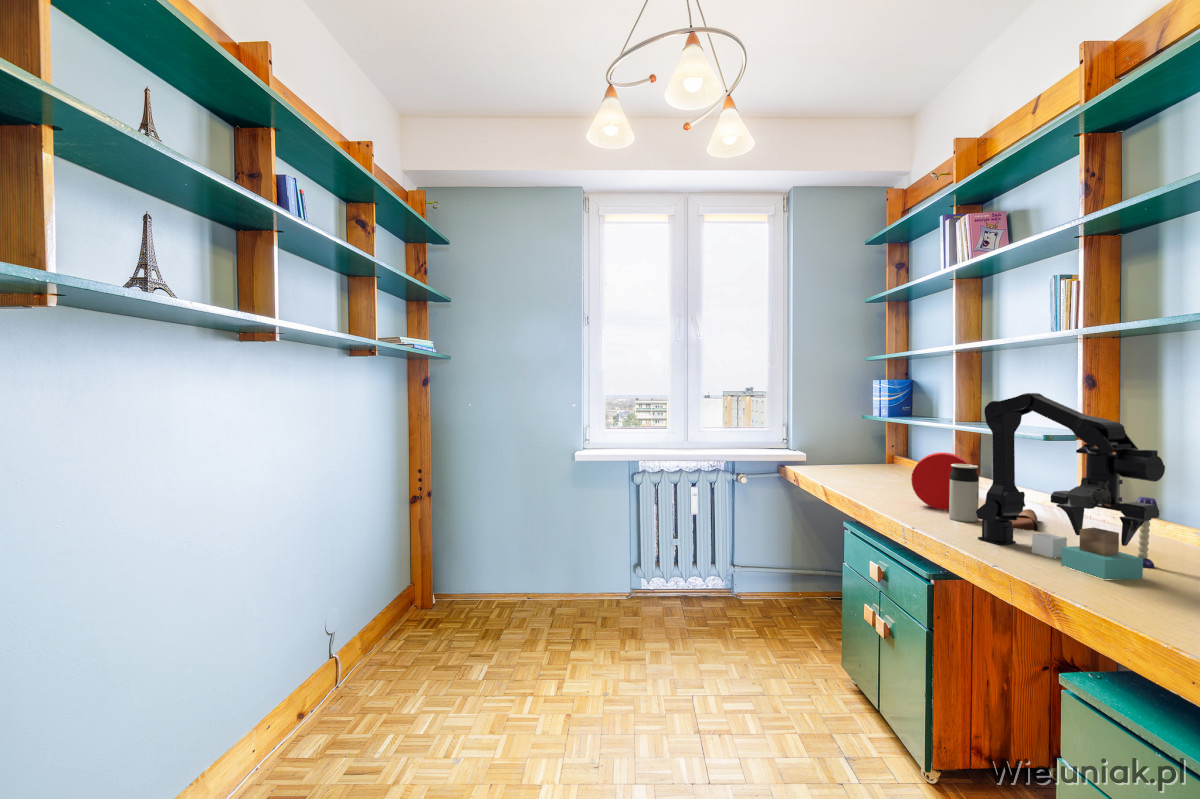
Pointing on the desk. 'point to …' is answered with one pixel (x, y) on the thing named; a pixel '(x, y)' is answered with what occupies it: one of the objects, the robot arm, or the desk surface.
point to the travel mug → (964, 493)
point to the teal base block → (1103, 564)
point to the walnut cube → (1099, 541)
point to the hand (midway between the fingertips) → (1100, 540)
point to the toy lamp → (1145, 535)
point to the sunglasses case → (1026, 520)
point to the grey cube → (1048, 544)
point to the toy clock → (935, 478)
